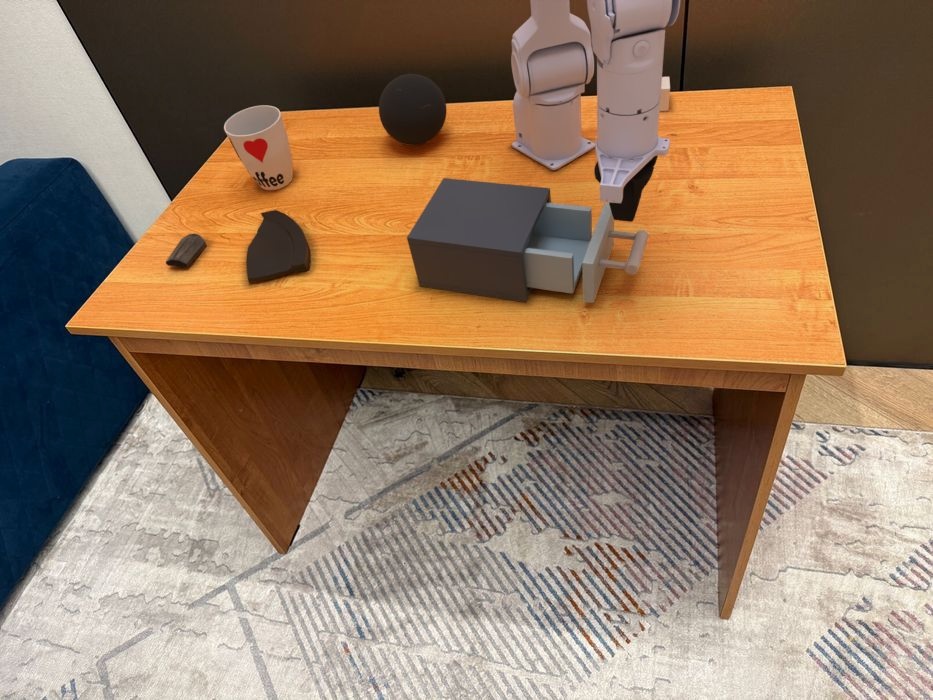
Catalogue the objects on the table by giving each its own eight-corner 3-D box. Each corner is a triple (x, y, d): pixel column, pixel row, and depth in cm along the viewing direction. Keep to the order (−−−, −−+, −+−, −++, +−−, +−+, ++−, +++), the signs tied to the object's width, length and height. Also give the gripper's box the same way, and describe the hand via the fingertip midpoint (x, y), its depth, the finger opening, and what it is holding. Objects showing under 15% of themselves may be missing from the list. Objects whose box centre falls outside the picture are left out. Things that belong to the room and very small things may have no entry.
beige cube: (643, 111, 103) (645, 89, 100) (643, 99, 105) (644, 77, 103) (668, 110, 102) (670, 88, 100) (667, 98, 104) (669, 76, 102)
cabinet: (553, 238, 87) (550, 187, 81) (526, 302, 80) (520, 252, 74) (453, 226, 91) (443, 177, 86) (419, 286, 84) (406, 237, 79)
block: (168, 270, 94) (162, 260, 92) (187, 241, 98) (181, 231, 96) (192, 270, 93) (186, 260, 92) (210, 241, 97) (204, 230, 95)
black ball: (402, 120, 111) (388, 60, 104) (460, 124, 108) (450, 62, 101) (376, 156, 105) (360, 94, 98) (437, 161, 102) (424, 97, 95)
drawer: (650, 247, 82) (653, 207, 77) (632, 309, 76) (634, 269, 71) (514, 231, 87) (510, 193, 83) (487, 287, 81) (481, 249, 77)
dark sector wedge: (310, 210, 98) (306, 201, 97) (310, 272, 89) (306, 263, 88) (252, 223, 98) (248, 213, 97) (247, 286, 89) (242, 276, 88)
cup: (240, 193, 104) (212, 133, 96) (269, 162, 109) (245, 103, 101) (284, 199, 101) (260, 138, 94) (312, 167, 106) (291, 107, 98)
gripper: (658, 146, 59) (649, 266, 69) (685, 62, 67) (674, 180, 77) (576, 140, 61) (579, 257, 71) (612, 59, 69) (611, 174, 79)
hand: (624, 217), depth 74 cm, fingers closed
